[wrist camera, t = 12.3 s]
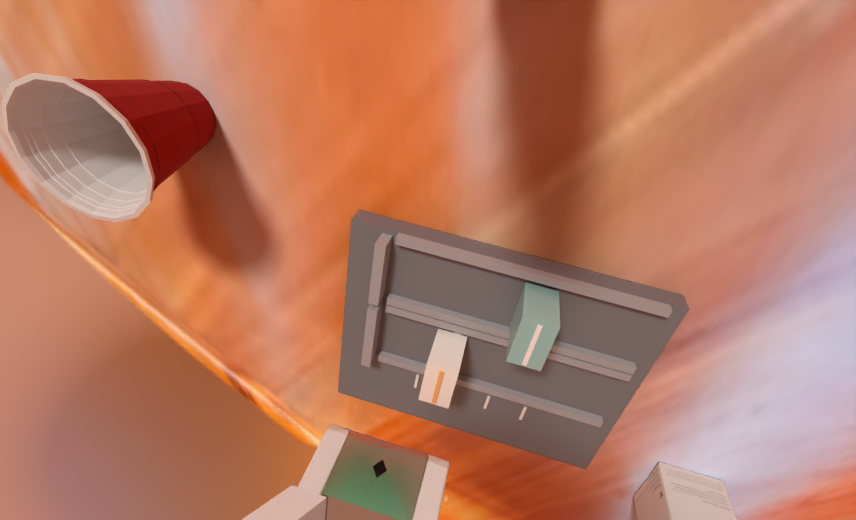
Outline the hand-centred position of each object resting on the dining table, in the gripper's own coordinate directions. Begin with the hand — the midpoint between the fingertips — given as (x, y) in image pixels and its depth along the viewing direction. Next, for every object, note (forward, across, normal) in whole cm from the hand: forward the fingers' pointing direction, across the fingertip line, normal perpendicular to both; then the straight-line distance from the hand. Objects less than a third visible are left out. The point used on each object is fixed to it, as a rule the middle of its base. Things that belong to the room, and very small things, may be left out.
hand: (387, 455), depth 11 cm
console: (+29, -4, +22) cm, 37 cm away
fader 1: (+27, -1, +22) cm, 35 cm away
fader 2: (+27, -7, +14) cm, 31 cm away
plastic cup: (+29, +28, +5) cm, 41 cm away
